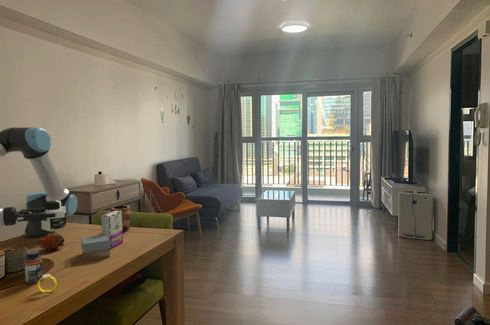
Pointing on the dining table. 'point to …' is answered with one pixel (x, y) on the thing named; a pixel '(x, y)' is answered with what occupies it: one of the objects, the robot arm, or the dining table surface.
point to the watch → (46, 278)
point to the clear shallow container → (96, 254)
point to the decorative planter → (124, 215)
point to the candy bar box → (113, 227)
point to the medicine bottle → (54, 222)
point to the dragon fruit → (51, 241)
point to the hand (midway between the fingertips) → (65, 211)
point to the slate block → (95, 243)
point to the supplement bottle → (33, 267)
